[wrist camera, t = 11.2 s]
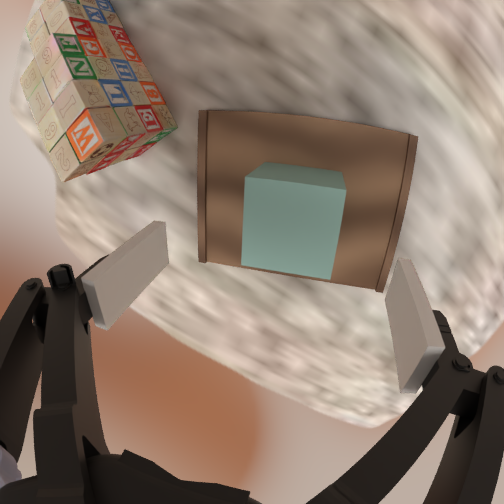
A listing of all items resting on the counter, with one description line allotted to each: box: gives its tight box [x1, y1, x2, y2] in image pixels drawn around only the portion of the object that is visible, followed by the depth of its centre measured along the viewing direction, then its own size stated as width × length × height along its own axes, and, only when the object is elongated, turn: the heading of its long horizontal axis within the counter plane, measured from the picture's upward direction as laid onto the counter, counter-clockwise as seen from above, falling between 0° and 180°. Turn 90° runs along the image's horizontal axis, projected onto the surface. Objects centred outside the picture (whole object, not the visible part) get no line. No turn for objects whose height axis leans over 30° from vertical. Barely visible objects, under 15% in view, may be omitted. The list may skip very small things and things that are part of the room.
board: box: [197, 110, 418, 293], centre depth 28 cm, size 16×20×2 cm
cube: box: [241, 162, 346, 280], centre depth 24 cm, size 7×7×7 cm
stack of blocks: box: [20, 0, 178, 182], centre depth 21 cm, size 21×6×12 cm, turn 29°
